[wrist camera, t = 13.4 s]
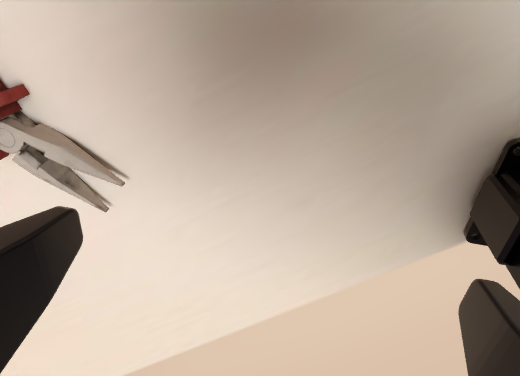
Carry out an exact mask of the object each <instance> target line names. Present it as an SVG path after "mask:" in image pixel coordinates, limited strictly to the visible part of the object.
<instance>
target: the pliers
mask: <svg viewBox="0 0 520 376" xmlns="http://www.w3.org/2000/svg"><path fill="white" fill-rule="evenodd" d="M27 95H29V92H28V91H27V89H26V88H25V87H24V85H23V84H21V85H19V86H16V87H13V88H10V89H8V90H7V89H6V88H5V87H4V85H3V84H2V83H1V81H0V160H1V159H3V158H5V157H6V156H8V155H9V153H16V152H18V151H19V152H18V153H17V154H16V156H15V157H14V158H13V159H12V160H13V161H14V162H16V163H17V164H18V165H19V166H21V167H22V168H24V169H25V170H27V171H28V172H30V173H31V174H33V175H35V176H36V177H38V178H40V179H42V180H44V181H46V182H48V183H50V184H52V185H53V186H55V187H57V188H59V189H61V190H63V191H65V192H67V193H69V194H71V195H73V196H75V197H77V198H79V199H81V200H83V201H85V202H87V203H89V204H90V205H92V206H94V207H96V208H98V209H100V210H102V211H104V212H107V211H108V209H109V208H108V207H107V206H106V205H105V204H104V203H103V202H102V201H101V200H100V199H99V198H98V197H97V196H96V195H95V194H94V193H93V192H92V191H91V190H90V189H89V187H88V186H87V185H86V184H85V183H84V182H83V181H82V180H81V179H80V178H79V177H78V176H77V175H76V174H75V173H74V172H73V171H72V170H71V169H70V168H72V169H75V170H78V171H81V172H83V173H86V174H89V175H92V176H94V177H97V178H100V179H103V180H105V181H108V182H111V183H114V184H116V185H119V186H123V185H124V184H125V182H123V181H122V180H121V179H119V178H118V177H117V176H116V175H114V174H113V173H112V172H110V171H109V170H108V169H107V168H105V167H104V166H103V165H101V164H100V163H99V162H98V161H96V160H95V159H94V158H92V157H91V156H90V155H89V154H87V153H86V152H85V151H83V150H82V149H81V148H80V147H78V146H77V145H76V144H74V143H73V142H72V141H71V140H69V139H68V138H67V137H65V136H64V135H62V134H61V133H59V132H57V131H56V130H54V129H52V128H50V127H48V126H46V125H44V124H42V123H40V124H38V125H35V124H34V123H33V121H32V120H30V119H29V118H28V117H27V116H26V115H25V114H23V113H22V112H21V111H20V110H21V109H22V108H21V107H20V106H19V104H18V103H17V100H19V99H21V98H23V97H25V96H27ZM39 150H40V151H42V152H44V153H45V154H44V155H42V154H41V153H40V152H39ZM68 167H70V168H68Z"/></svg>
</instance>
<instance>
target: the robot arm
mask: <svg viewBox="0 0 520 376" xmlns="http://www.w3.org/2000/svg"><path fill="white" fill-rule="evenodd" d="M517 147H520V139H515V140H512V141H510V142H509V143H507V145H506V146H505V148H504V150H503V152H502V154H501V156H500V158H499V161H498V163H497V165H496V167H495V169H494V171H493V173H492V175H490V176H489V177H488V178H487V179H486V181H485V183H484V185H483V187H482V189H481V192H480V194H479V196H478V198H477V200H476V202H475V204H474V206H473V208H472V210H471V212H470V216H471V219H470V221H469V223H468V225H467V227H466V229H465V231H464V235H465V238H466V240H467V241H468V242H470V243H474V244H480V245H486V246H488V247H489V248H490V250H491V252H492V254H493V255H494V257H495V259H496V260H497V262H498V263H499V264H502V265H506V267H507V269H508V270H509V272H510V273H511V275H512V277H513V279H514V280H515V282H516V284H517V285H518V287H519V288H520V150H519V151H518V152H514V153H513V150H514V149H515V148H517ZM474 233H478V234H477V235H475V236H471V235H472V234H474ZM82 242H83V234H82V229H81V224H80V219H79V214H78V212H77V211H76V210H75V209H73V208H68V207H62V206H57V207H54V208H51V209H49V210H46V211H43V212H41V213H38V214H35V215H33V216H30V217H27V218H24V219H22V220H19V221H16V222H14V223H11V224H8V225H6V226H3V227H0V373H1V372H2V370H3V369H4V368H5V366H6V365H7V363H8V362H9V360H10V359H11V358H12V356H13V355H14V353H15V352H16V350H17V349H18V347H19V346H20V345H21V343H22V342H23V340H24V339H25V337H26V336H27V335H28V333H29V332H30V330H31V329H32V327H33V326H34V324H35V323H36V322H37V320H38V319H39V317H40V316H41V314H42V313H43V312H44V310H45V309H46V307H47V306H48V304H49V303H50V301H51V299H52V298H53V296H54V294H55V293H56V291H57V289H58V287H59V285H60V284H61V282H62V280H63V278H64V276H65V275H66V273H67V271H68V269H69V267H70V265H71V264H72V262H73V260H74V258H75V256H76V255H77V253H78V251H79V249H80V247H81V245H82ZM459 321H460V326H461V332H462V339H463V345H464V352H465V358H466V363H467V370H468V376H520V301H519V300H518V299H517V298H516V297H515V296H513V295H512V294H511V293H510V292H508V291H507V290H506V289H505V288H504V287H502V286H501V285H500V284H499V283H497V282H494V281H489V280H483V279H475V280H474V281H473V282H472V283H471V285H470V287H469V289H468V290H467V292H466V294H465V296H464V298H463V300H462V301H461V304H460V306H459Z"/></svg>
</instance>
